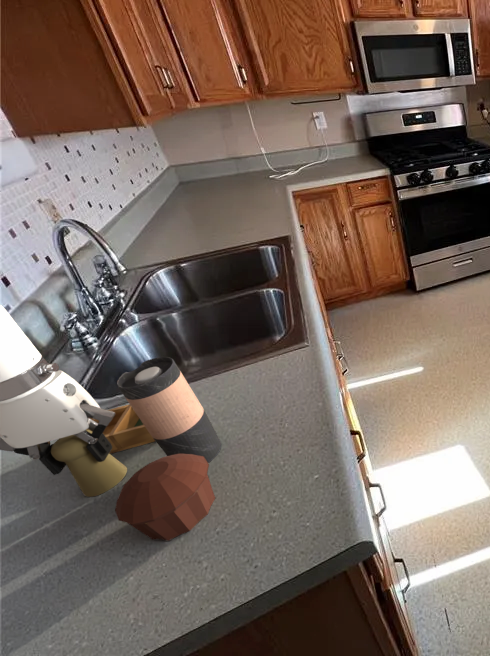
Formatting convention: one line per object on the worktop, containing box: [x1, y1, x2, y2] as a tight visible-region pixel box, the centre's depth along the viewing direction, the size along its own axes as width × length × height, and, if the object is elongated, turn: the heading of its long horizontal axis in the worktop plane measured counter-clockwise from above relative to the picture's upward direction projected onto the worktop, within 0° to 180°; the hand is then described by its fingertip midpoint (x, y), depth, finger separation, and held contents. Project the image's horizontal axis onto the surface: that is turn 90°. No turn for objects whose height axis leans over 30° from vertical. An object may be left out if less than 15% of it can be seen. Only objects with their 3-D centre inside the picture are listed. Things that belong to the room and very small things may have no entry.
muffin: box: [114, 454, 216, 542], centre depth 64 cm, size 12×11×10 cm
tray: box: [87, 403, 156, 455], centre depth 81 cm, size 16×9×4 cm, turn 109°
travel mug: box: [116, 356, 222, 464], centre depth 71 cm, size 8×8×20 cm
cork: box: [51, 429, 128, 498], centre depth 70 cm, size 6×6×11 cm
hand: (83, 460), depth 69 cm, fingers closed on cork, 5 cm apart
